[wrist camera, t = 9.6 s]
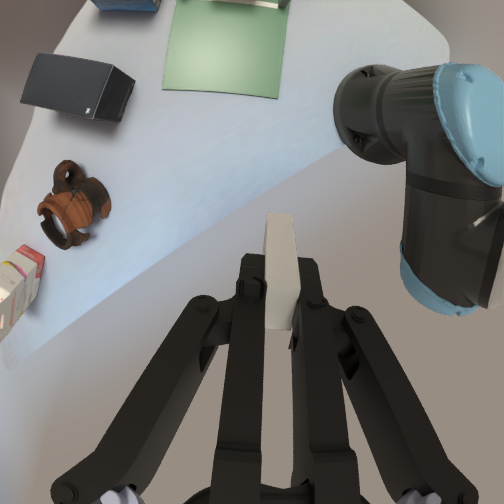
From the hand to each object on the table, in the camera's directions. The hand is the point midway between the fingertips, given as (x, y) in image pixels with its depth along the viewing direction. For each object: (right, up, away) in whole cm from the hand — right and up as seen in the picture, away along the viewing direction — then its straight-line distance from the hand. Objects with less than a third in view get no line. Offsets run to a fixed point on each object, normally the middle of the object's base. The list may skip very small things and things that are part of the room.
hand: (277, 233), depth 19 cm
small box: (-22, +20, +14) cm, 33 cm away
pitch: (-4, +30, +12) cm, 33 cm away
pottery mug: (-26, +7, +19) cm, 33 cm away
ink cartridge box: (-38, -4, +21) cm, 44 cm away
